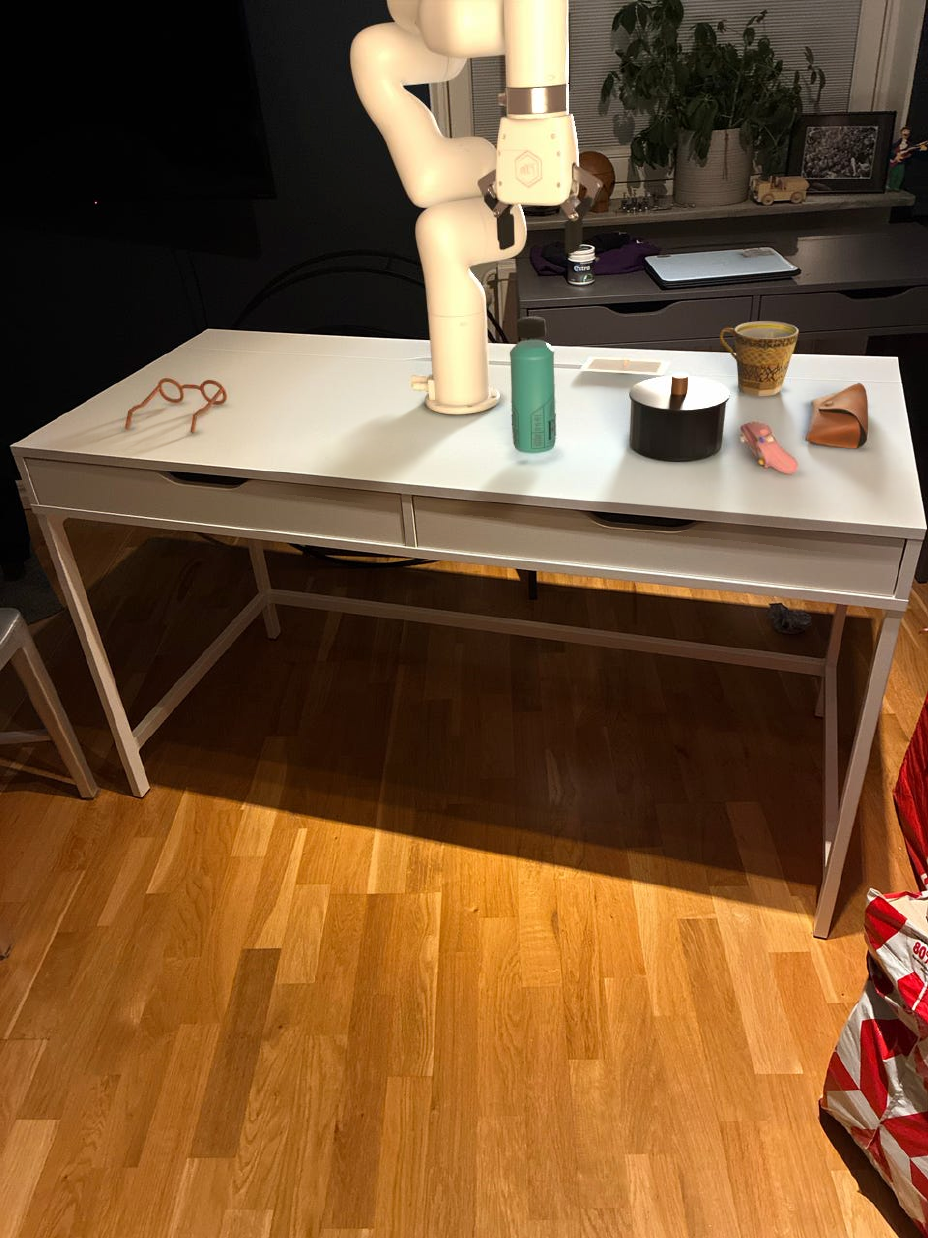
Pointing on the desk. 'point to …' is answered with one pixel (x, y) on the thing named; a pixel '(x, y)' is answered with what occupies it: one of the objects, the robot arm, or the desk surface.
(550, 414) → the beverage bottle
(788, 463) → the pink cartoon race car
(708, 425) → the black short cylinder
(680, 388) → the lid
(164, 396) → the glasses
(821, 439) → the sunglasses case
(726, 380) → the desk surface
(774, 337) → the ceramic cup
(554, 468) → the desk surface
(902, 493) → the desk surface
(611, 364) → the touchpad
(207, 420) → the desk surface
